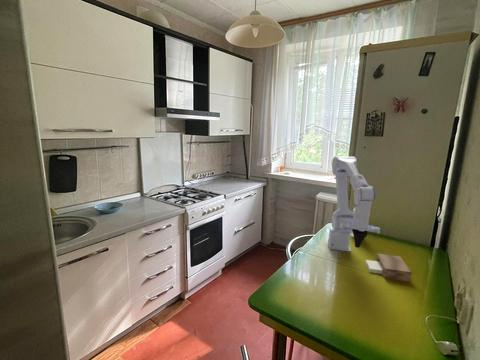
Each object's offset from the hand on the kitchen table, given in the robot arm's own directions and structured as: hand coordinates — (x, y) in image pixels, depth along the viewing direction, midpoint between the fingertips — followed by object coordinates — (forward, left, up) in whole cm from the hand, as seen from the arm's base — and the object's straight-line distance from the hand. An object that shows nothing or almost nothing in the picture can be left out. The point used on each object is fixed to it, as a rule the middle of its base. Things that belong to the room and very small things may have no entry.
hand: (357, 246), depth 104 cm
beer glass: (+6, +31, -9) cm, 33 cm away
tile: (+11, 0, -9) cm, 14 cm away
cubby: (+14, -1, -8) cm, 16 cm away
